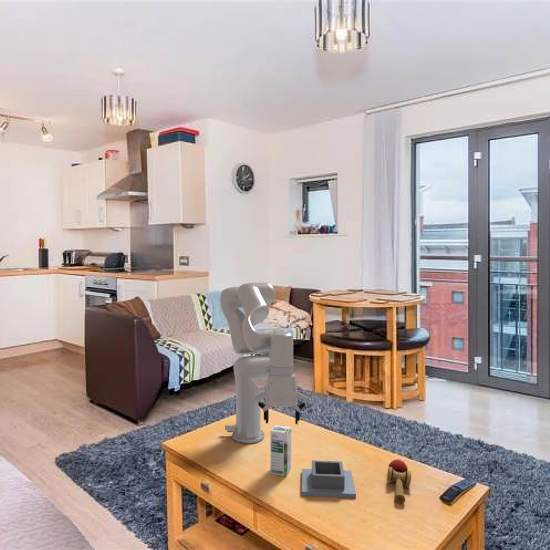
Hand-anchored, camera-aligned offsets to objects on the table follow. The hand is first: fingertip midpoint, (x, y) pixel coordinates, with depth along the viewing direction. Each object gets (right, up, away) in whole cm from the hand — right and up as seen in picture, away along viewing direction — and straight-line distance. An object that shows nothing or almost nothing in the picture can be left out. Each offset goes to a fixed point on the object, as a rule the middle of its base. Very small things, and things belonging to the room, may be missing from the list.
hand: (281, 422), depth 147 cm
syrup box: (0, -17, +2) cm, 17 cm away
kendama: (+36, -18, -8) cm, 41 cm away
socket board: (+14, -17, -6) cm, 23 cm away
